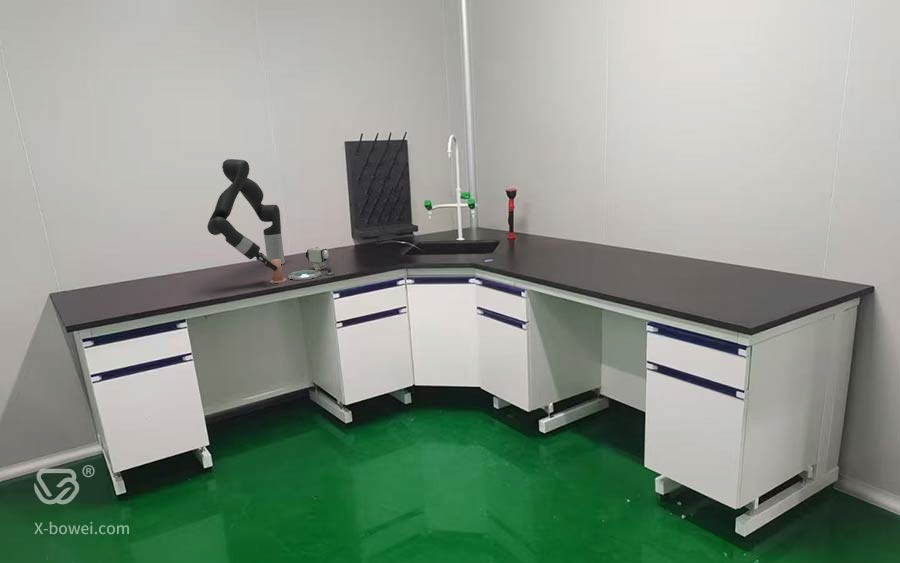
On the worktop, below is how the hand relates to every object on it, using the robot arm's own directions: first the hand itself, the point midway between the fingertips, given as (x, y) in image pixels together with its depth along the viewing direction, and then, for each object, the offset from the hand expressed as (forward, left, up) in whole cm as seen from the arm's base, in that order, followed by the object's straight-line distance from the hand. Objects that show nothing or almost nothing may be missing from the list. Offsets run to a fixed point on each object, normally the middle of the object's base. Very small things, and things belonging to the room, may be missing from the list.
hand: (275, 267), depth 279 cm
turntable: (0, +15, -7) cm, 16 cm away
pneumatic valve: (-9, +28, -7) cm, 30 cm away
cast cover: (0, +1, -7) cm, 7 cm away
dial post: (+6, +26, -7) cm, 27 cm away
